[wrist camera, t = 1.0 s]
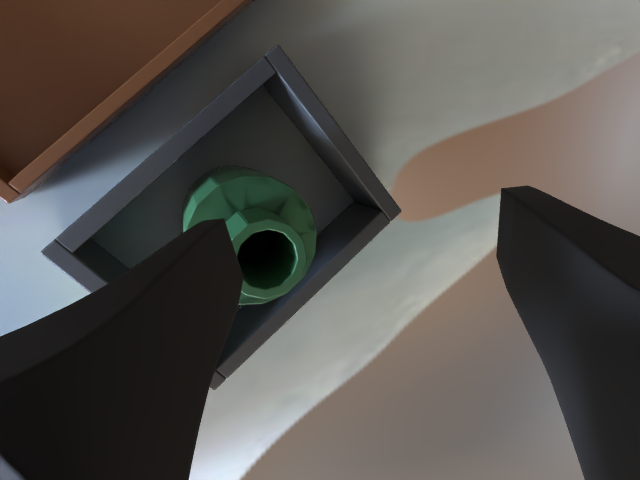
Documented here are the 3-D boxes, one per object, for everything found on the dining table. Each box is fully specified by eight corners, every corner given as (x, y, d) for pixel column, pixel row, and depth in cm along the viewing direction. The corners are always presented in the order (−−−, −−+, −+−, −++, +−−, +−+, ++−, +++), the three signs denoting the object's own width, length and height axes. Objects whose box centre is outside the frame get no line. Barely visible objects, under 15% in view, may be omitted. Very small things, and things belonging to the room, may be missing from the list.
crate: (208, 356, 23) (214, 391, 20) (61, 233, 19) (38, 253, 16) (372, 201, 24) (402, 211, 21) (261, 58, 20) (278, 43, 17)
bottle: (231, 282, 22) (261, 359, 15) (159, 213, 21) (150, 260, 13) (300, 217, 23) (365, 259, 15) (236, 144, 21) (273, 149, 13)
